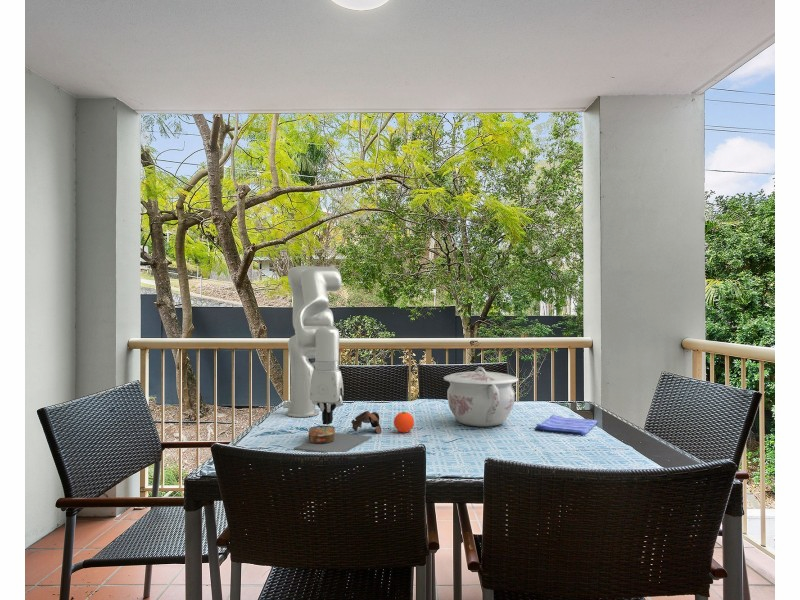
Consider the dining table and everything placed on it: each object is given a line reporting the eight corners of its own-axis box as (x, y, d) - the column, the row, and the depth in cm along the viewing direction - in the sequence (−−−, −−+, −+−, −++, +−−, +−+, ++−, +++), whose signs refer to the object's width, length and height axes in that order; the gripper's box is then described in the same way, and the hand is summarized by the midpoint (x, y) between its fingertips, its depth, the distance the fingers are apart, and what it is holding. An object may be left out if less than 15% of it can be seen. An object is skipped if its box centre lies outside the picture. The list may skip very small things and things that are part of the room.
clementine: (394, 429, 205) (394, 408, 205) (414, 429, 205) (414, 409, 205) (393, 434, 197) (393, 413, 197) (413, 434, 197) (413, 413, 197)
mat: (293, 449, 178) (293, 447, 178) (329, 433, 199) (329, 432, 199) (340, 454, 172) (340, 453, 172) (372, 437, 193) (372, 436, 193)
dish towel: (533, 432, 202) (533, 424, 202) (551, 419, 223) (551, 412, 223) (584, 438, 194) (584, 429, 194) (598, 424, 215) (598, 416, 214)
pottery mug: (377, 438, 195) (364, 417, 194) (356, 447, 199) (343, 426, 199) (391, 421, 206) (379, 401, 205) (371, 430, 210) (359, 411, 210)
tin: (310, 425, 197) (335, 423, 198) (310, 435, 197) (335, 432, 198) (307, 436, 182) (334, 433, 183) (307, 446, 182) (334, 443, 183)
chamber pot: (461, 412, 233) (461, 361, 233) (528, 420, 220) (528, 365, 219) (429, 426, 209) (429, 368, 209) (502, 435, 195) (502, 374, 195)
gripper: (300, 366, 186) (300, 424, 186) (342, 368, 180) (342, 428, 180) (313, 364, 193) (313, 419, 193) (353, 366, 187) (353, 423, 187)
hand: (327, 423), depth 186 cm, fingers closed
